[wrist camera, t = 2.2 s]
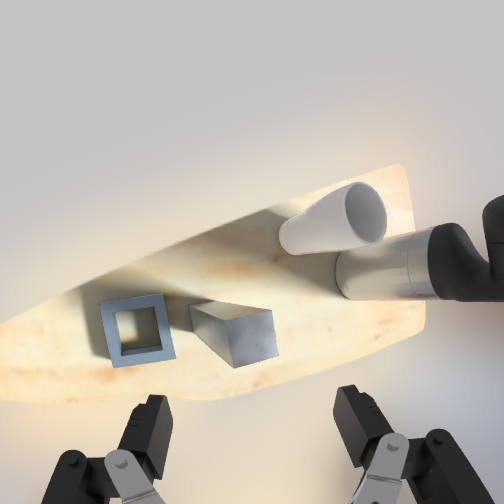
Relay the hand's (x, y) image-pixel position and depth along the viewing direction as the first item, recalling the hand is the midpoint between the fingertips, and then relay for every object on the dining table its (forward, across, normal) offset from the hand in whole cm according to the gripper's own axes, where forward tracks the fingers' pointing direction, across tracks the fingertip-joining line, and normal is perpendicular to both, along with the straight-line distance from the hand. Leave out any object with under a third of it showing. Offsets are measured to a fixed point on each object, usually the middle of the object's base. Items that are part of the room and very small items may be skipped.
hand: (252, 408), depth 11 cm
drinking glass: (+29, -8, -3) cm, 30 cm away
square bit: (+22, +5, +5) cm, 23 cm away
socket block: (+19, +13, +6) cm, 23 cm away
